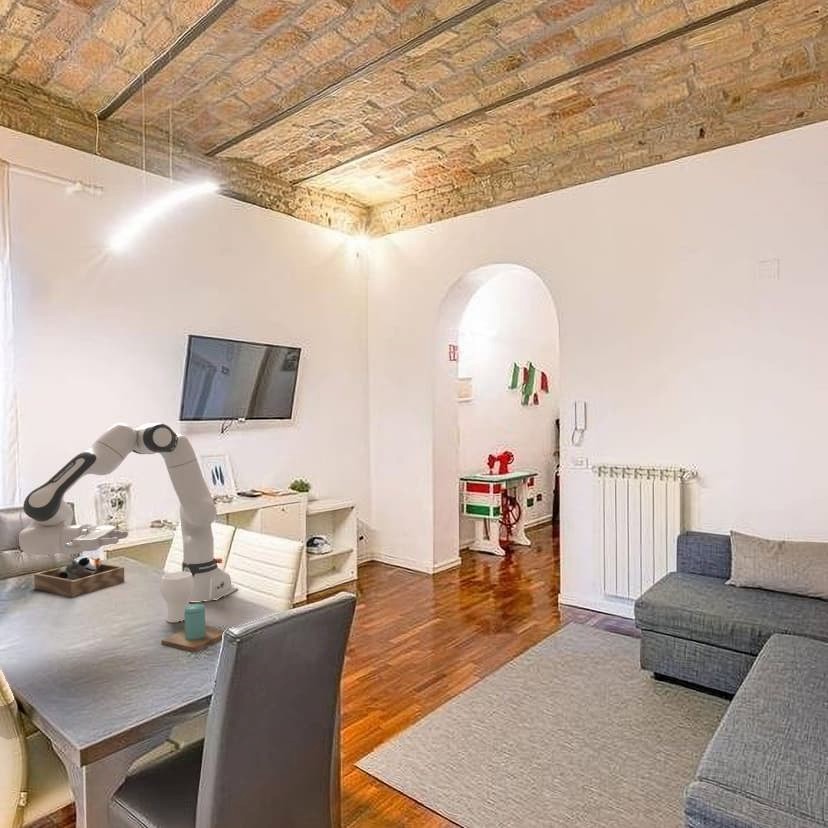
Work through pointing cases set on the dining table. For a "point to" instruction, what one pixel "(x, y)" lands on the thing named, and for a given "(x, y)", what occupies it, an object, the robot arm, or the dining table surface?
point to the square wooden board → (195, 644)
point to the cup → (177, 594)
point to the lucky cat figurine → (79, 568)
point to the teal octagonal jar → (195, 621)
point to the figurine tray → (79, 581)
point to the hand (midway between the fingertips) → (122, 537)
